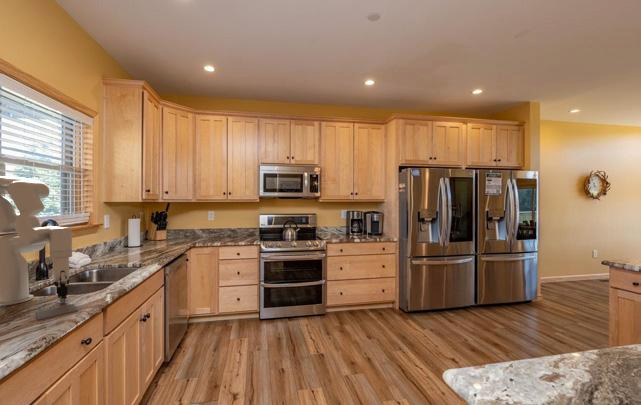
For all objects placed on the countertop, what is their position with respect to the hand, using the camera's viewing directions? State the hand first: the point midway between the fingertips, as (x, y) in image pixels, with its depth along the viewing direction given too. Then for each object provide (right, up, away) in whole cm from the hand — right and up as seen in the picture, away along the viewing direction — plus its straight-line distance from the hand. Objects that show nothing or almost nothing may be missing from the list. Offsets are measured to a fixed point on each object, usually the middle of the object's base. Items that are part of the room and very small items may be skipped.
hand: (61, 293), depth 128 cm
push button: (0, -3, 0) cm, 3 cm away
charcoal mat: (+7, -4, -10) cm, 14 cm away
